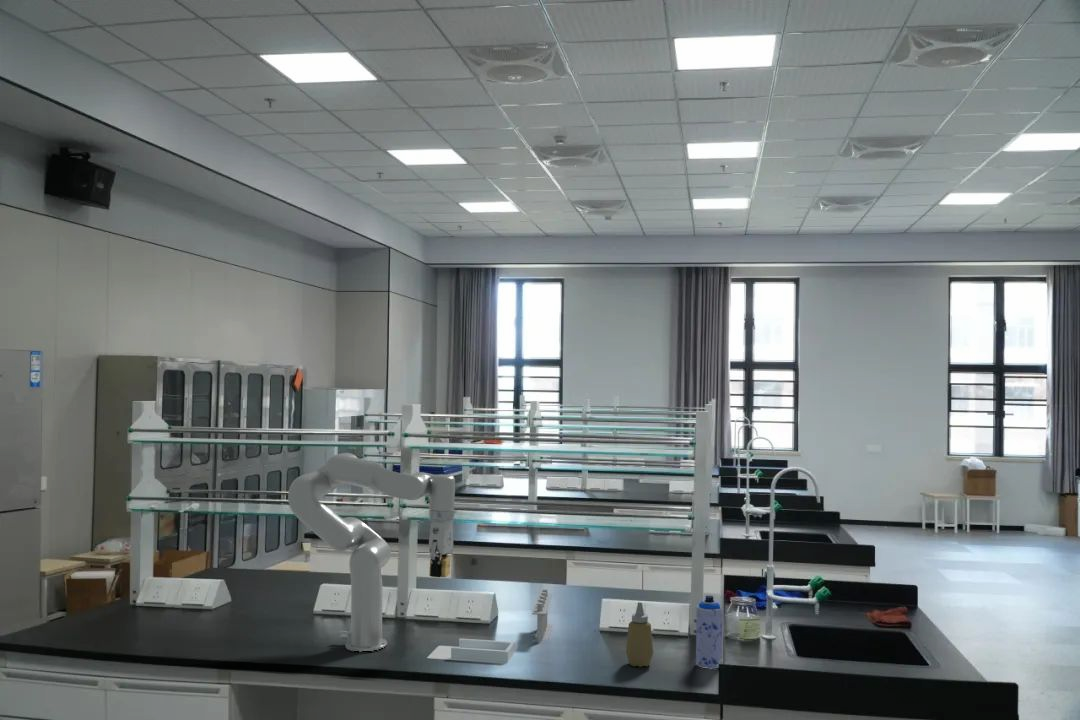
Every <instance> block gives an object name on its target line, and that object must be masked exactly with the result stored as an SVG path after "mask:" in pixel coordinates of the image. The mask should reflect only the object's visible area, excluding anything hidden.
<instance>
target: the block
mask: <svg viewBox="0 0 1080 720" xmlns="http://www.w3.org/2000/svg"><path fill="white" fill-rule="evenodd" d="M436 556H437V555H436ZM437 557H439V556H437ZM440 564H442V569H441V577H440V578H447V577H448V576H449V575H451V557H450V556H448V557H441V563H440ZM429 577H431V558H430V559H429Z"/></svg>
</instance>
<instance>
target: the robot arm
mask: <svg viewBox="0 0 1080 720" xmlns="http://www.w3.org/2000/svg"><path fill="white" fill-rule="evenodd" d="M344 484H345V485H348V486H349V485H350V486H355V487H359V488H363V489H368V490H372V491H374V492H375V493H380V494H383V495H385V496H387V497H388V496H389V497H392V498H398V499H402V500H406V501H417V500H419V499H422V498H423V497H426V496H427V497H428V496H429V512H428V514H429V515H428V520H429V521H430V527H429V528H430V529H429V537H428V539H429V540H428V552H429V557H430V559H431V576H430V577H432V578H433V577H434V578H442V577H441V569H442V564H440V563H441V557H449V553H450V552H451V551H452V550H454V549H453V548H454V519H455V513H454V512H455V495H456V479H455V477H454V476H453V475H451V474H443V473H442V474H441V473H440V474H433V473H429V472H423V471H420V472H415V473H412V474H406V473H400V472H397V471H393V470H390V469H388V468H385V467H384V466H383V464H382V463H380V462H377V461H373V460H368V459H363V458H358V457H357V456H356V455H355V454H354V453H350V452H342V453H339V454H338V453H337V454H334V455H333V456H330V457H329V458H328V459H327V460H326V462H325V464H324V465H323V466H321V467H320V468H318V469H316V470H314V471H312V472H308V473H305V474H302V475H300V476H298V477H296V478H294V480H293V481H292V483H291V484H290V486H289V489H288V493H287V494H288V495H287V500H288V505H289V508H290V510H291V512H292V513H293V515H294V516H295V517H296V518H297V519H298V520H299V521H300V522H301V523H302V524H303V525H305V526H306V527H308V528H309V529H310V530H311V531H312V532H313V533H314V534H315V535H316V536H317V537H319V539H321V540H322V541H323V542H325V544H326V545H328V546H329V547H330V548H332V550H334V551H336V552H339V553H343V552H346V551H349V550H350V551H351V552H352V553H351V555H350V558H349V564H348V565H349V573H350V575H349V576H350V589H351V590H350V596H351V598H350V599H351V600H350V630H348V631H346V630H339V631H338V632H339V633H338V637H339V639H340V640H347V641H346V643H345V648H346V650H348V651H351V652H354V651H359V652H358V653H363V652H362V651H372V652H374V651H373V650H377V651H379V650H378V649H381V648H383V649H385V648H386V647H387V646H388V641H387V640H386V639H385V638H383V590H384V589H383V578H382V568H383V567H384V566H386V565H387V564H388V562H389V561H390V559H391V555H392V552H391V547H390V545H389V544H388V542H387V541H386V540H385V539H384V538H383V537H381V536H380V535H379V534H378V533H376V532H375V530H373V528H371V527H370V526H368V525H367V524H366V523H365V522H364V521H362V520H361V519H359V518H357V517H354V516H353V517H352V516H348V517H341V516H339V515H338V514H337V513H336V512H334V510H332V509H331V508H330V507H328V506H327V505H326V504H324V503H322V502H321V501H319V499H320V498H322V497H325V496H326V495H328V494H330V493H331V492H333V491H335V490H336V489H337V488H339V487H341V486H342V485H344ZM437 556H438V557H437ZM386 645H387V646H386ZM385 646H386V647H385ZM384 647H385V648H384ZM381 650H382V649H381Z"/></svg>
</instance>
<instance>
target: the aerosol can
mask: <svg viewBox="0 0 1080 720" xmlns="http://www.w3.org/2000/svg"><path fill="white" fill-rule="evenodd" d="M695 619H696V620H695V621H696V622H695V624H696V625H695V628H696V630H695V631H696V633H695V634H696V639H695V640H696V641H695V645H696V646H695V657H696V658H695V662H696V664H697V665H698V666H701V667H708V668H716V667H717V664H718V662H719V661H720V659H721V658H722V659H723V607H722V606H721V605H720V603H719V602H717V601H716V600H714V596H713V595H705V599H703V600H702V601H700V602H699V603H698V604H697V606H696V618H695ZM696 664H695V665H696Z"/></svg>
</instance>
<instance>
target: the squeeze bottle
mask: <svg viewBox="0 0 1080 720" xmlns="http://www.w3.org/2000/svg"><path fill="white" fill-rule="evenodd" d="M648 619H649V615H648V614H646V613H645V611H644V606H643V602H640V601H639V602H637V606H636V609H635V613H632V615H631V621H630V622H629V623H628V627H627V628H628V629H627V636H626V637H627V638H626V646H625V647H626V648H625V654H626V658H627V660H628V664H629V665H630V666H632V667H635V666H639V667H638V668H643V667H642V666H646V667H649V666H650V665H649V664H651V661H652V658H653V655H654V646H653V645H654V644H653V634H652V624H651V623H650V622H649V621H648ZM648 665H649V666H648Z"/></svg>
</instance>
